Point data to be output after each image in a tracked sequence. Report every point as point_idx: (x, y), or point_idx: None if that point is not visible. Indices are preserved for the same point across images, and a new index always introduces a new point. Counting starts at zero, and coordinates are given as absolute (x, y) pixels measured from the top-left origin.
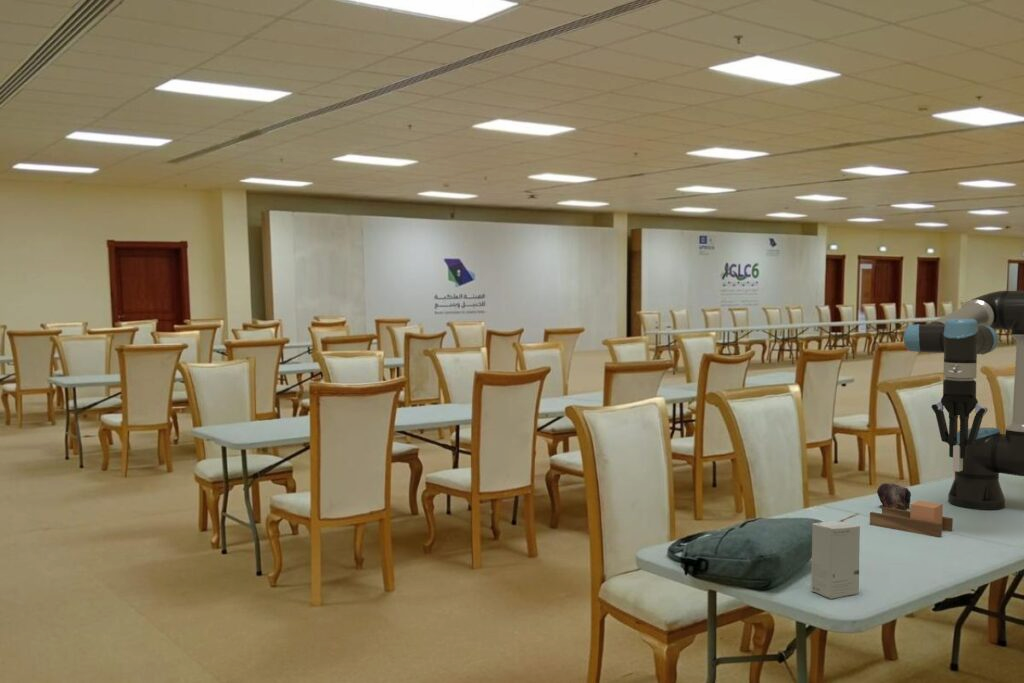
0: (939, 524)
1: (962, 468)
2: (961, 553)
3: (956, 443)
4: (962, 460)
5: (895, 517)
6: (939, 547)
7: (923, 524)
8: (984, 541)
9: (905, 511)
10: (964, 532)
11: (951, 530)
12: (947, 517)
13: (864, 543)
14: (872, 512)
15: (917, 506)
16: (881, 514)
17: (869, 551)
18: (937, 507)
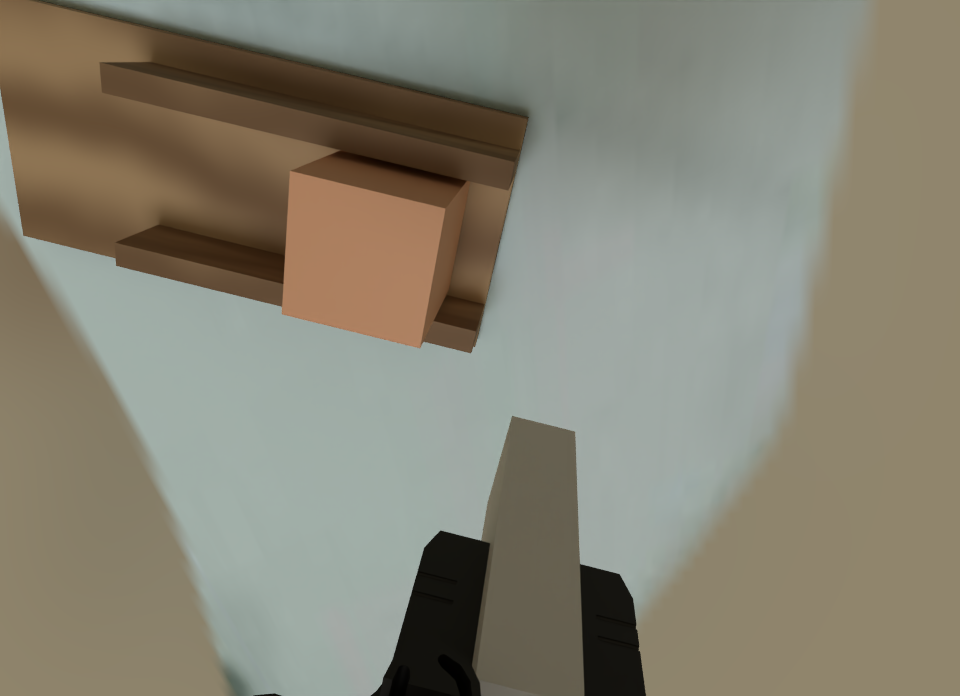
0: (467, 347)
1: (573, 448)
2: (577, 440)
3: (463, 691)
4: (573, 517)
5: (250, 298)
6: (492, 395)
7: None
8: (677, 192)
9: (243, 126)
10: (578, 33)
11: (516, 166)
12: (484, 155)
13: (247, 461)
14: (123, 253)
15: (325, 322)
16: (175, 275)
17: (296, 539)
18: (429, 298)
